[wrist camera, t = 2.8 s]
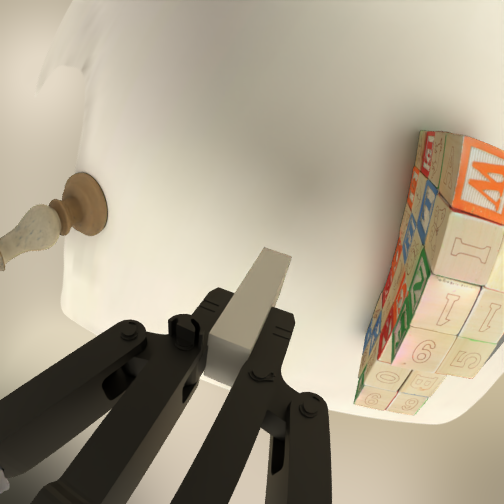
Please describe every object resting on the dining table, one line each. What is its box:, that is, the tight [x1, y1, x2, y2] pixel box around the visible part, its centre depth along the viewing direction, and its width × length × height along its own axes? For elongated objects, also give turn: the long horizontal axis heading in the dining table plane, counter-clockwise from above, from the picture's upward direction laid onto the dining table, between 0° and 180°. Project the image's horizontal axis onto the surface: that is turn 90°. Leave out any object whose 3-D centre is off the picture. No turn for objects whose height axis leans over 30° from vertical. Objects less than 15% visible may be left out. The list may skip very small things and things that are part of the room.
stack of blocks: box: [354, 130, 504, 415], centre depth 16 cm, size 21×6×12 cm, turn 178°
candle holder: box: [0, 173, 107, 271], centre depth 24 cm, size 9×9×20 cm
